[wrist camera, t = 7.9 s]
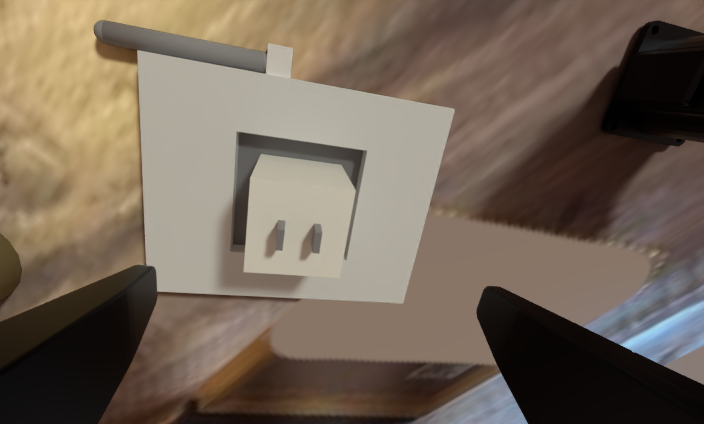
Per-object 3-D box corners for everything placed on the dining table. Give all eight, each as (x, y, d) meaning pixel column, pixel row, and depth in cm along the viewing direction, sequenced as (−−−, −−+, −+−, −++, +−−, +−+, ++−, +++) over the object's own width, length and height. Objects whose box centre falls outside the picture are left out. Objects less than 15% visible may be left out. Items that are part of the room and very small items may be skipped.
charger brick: (341, 164, 20) (359, 197, 14) (329, 235, 21) (342, 289, 16) (260, 153, 19) (247, 184, 13) (255, 228, 20) (240, 283, 15)
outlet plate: (446, 107, 20) (455, 109, 19) (398, 293, 24) (403, 303, 23) (147, 51, 16) (137, 49, 15) (155, 279, 21) (147, 290, 20)
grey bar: (293, 49, 17) (293, 48, 16) (289, 86, 18) (289, 86, 17) (99, 10, 15) (87, 6, 14) (102, 52, 16) (90, 50, 15)
